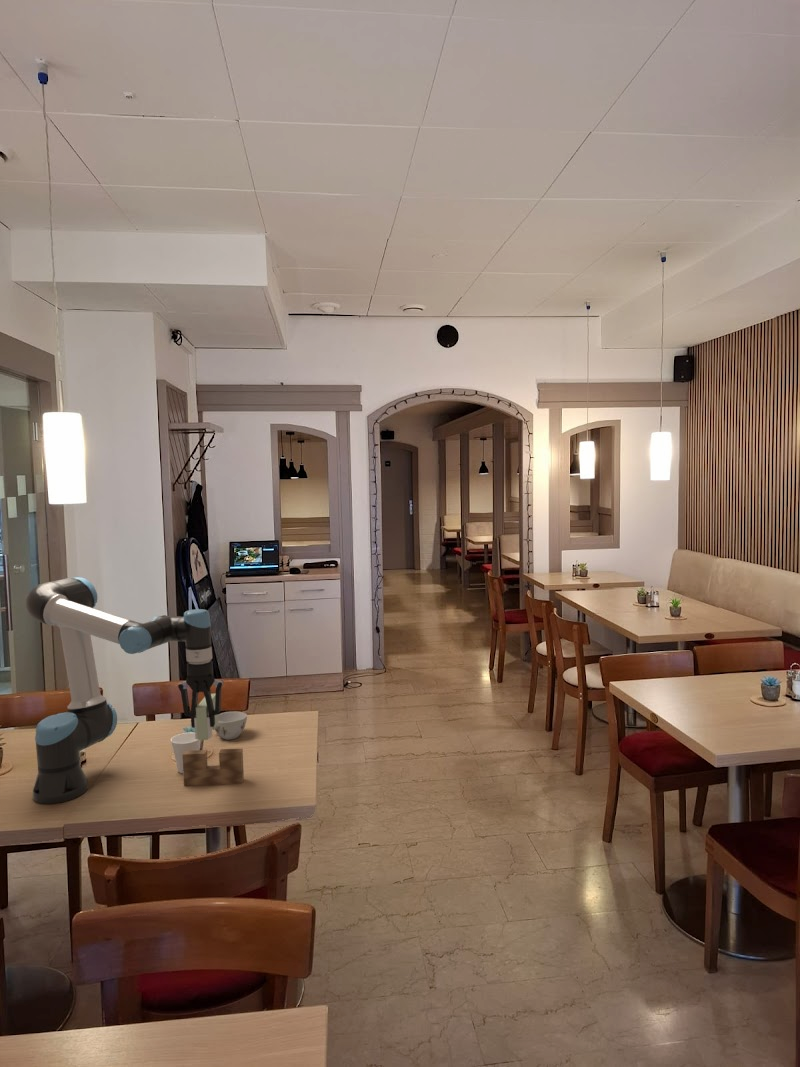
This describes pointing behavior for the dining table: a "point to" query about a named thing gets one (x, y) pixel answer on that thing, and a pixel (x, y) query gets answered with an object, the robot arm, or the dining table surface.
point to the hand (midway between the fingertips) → (203, 737)
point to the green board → (204, 718)
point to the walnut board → (213, 767)
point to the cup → (184, 746)
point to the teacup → (231, 724)
